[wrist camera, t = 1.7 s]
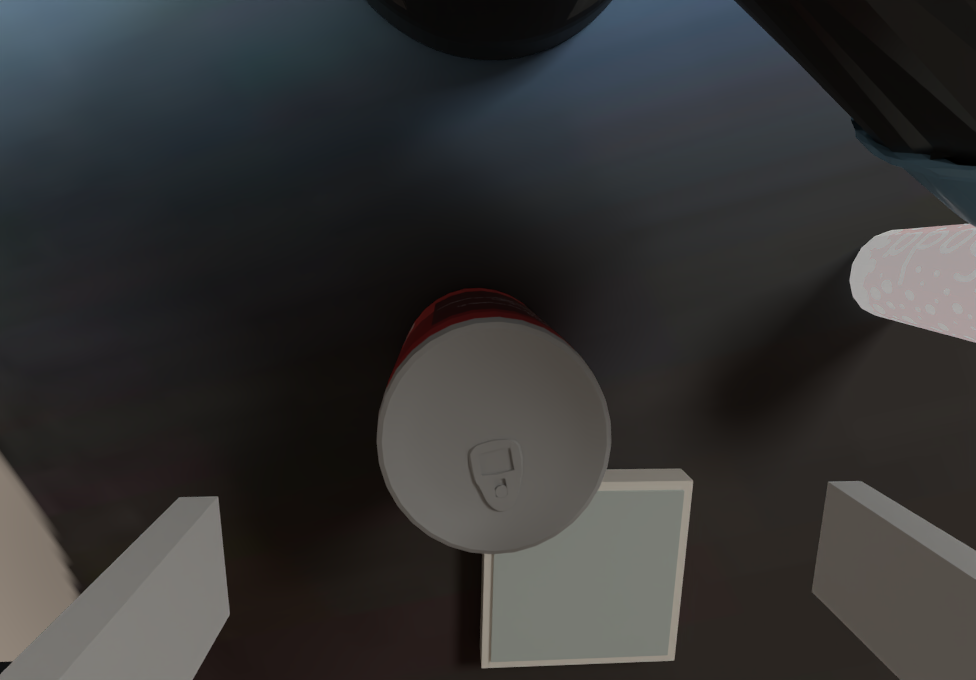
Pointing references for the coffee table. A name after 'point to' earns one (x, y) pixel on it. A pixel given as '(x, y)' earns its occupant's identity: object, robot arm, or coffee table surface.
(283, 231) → the coffee table surface
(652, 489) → the tray
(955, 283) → the beverage cup
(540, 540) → the canned food
